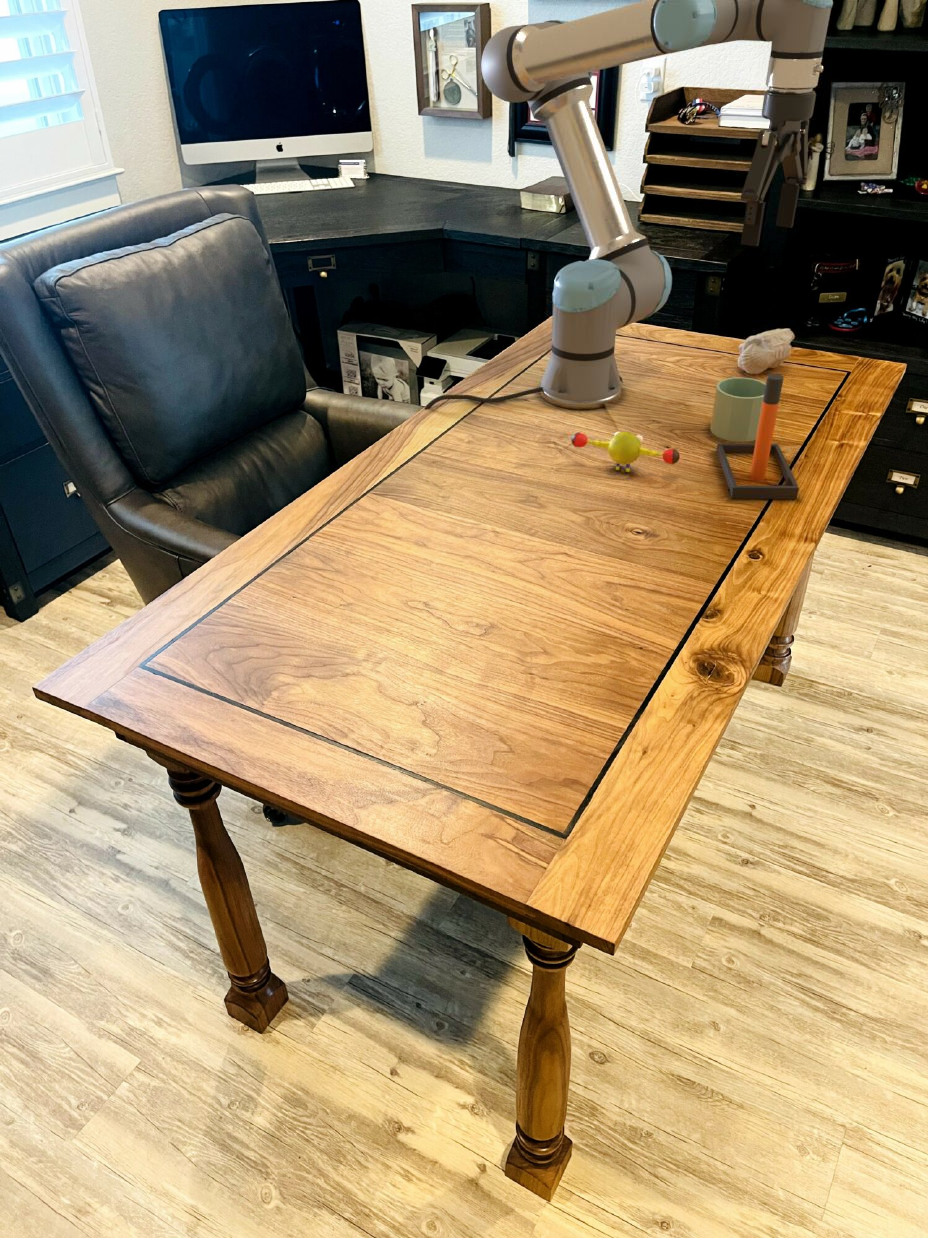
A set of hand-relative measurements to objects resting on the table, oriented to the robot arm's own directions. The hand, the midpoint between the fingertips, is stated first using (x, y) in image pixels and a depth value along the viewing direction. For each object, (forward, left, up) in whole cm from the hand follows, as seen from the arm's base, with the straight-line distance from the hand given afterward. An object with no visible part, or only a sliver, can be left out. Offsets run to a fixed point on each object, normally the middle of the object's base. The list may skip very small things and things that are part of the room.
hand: (767, 235), depth 158 cm
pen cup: (-4, -10, -31) cm, 32 cm away
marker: (-7, -27, -30) cm, 41 cm away
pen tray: (-6, -25, -31) cm, 40 cm away
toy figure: (-27, -20, -31) cm, 46 cm away
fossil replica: (+11, +18, -31) cm, 37 cm away
